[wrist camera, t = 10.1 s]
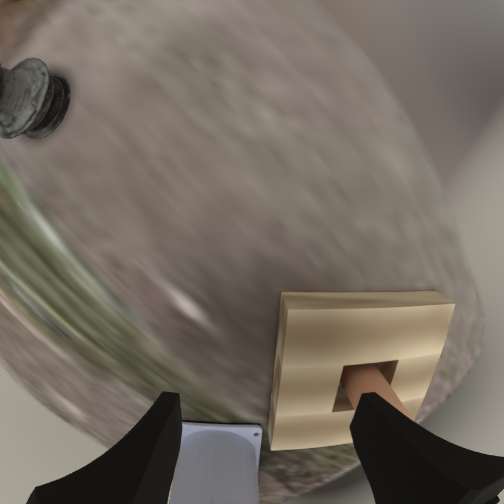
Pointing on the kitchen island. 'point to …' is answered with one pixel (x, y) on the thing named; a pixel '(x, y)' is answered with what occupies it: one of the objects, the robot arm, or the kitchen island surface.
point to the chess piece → (31, 99)
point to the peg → (368, 385)
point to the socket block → (349, 357)
